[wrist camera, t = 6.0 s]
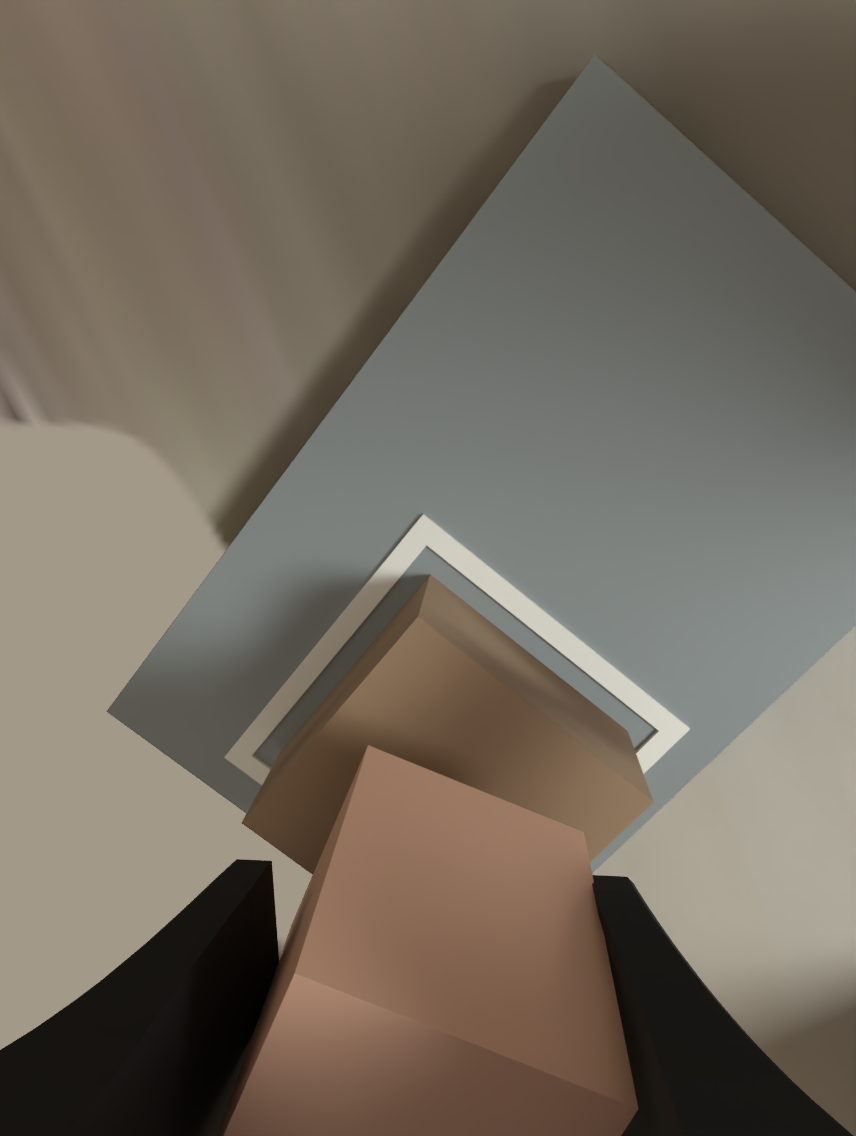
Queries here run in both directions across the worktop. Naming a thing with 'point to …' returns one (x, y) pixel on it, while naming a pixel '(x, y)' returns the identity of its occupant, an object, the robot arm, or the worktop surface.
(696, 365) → the build board
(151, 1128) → the robot arm
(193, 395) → the worktop surface
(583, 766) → the base block
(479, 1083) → the top block
